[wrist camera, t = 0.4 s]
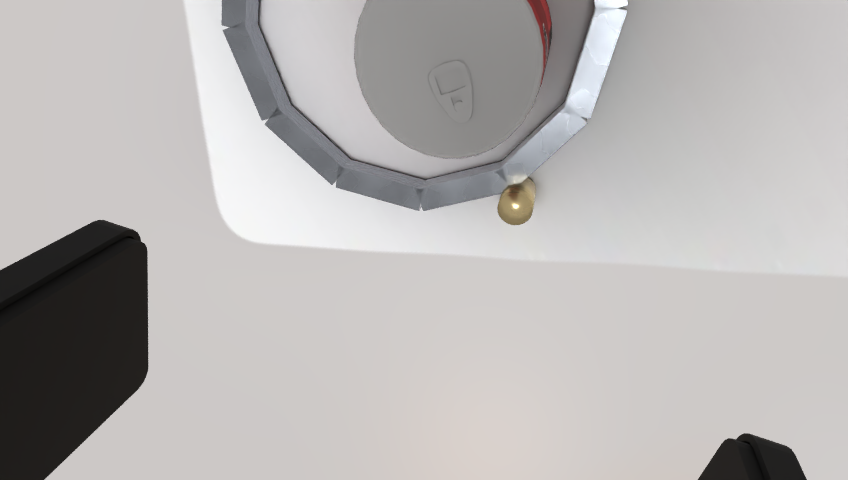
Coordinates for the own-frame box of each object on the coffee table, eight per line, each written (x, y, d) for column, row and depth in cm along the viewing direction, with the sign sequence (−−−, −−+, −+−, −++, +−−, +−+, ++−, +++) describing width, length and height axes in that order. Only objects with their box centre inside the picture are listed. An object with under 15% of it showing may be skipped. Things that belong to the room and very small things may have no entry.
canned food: (468, 127, 35) (428, 192, 25) (389, 13, 33) (313, 37, 23) (581, 51, 31) (584, 93, 22) (500, -80, 29) (464, -98, 20)
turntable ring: (243, -267, 28) (209, -290, 26) (690, -183, 26) (703, -199, 23) (231, 147, 39) (206, 161, 36) (547, 236, 36) (545, 258, 34)
